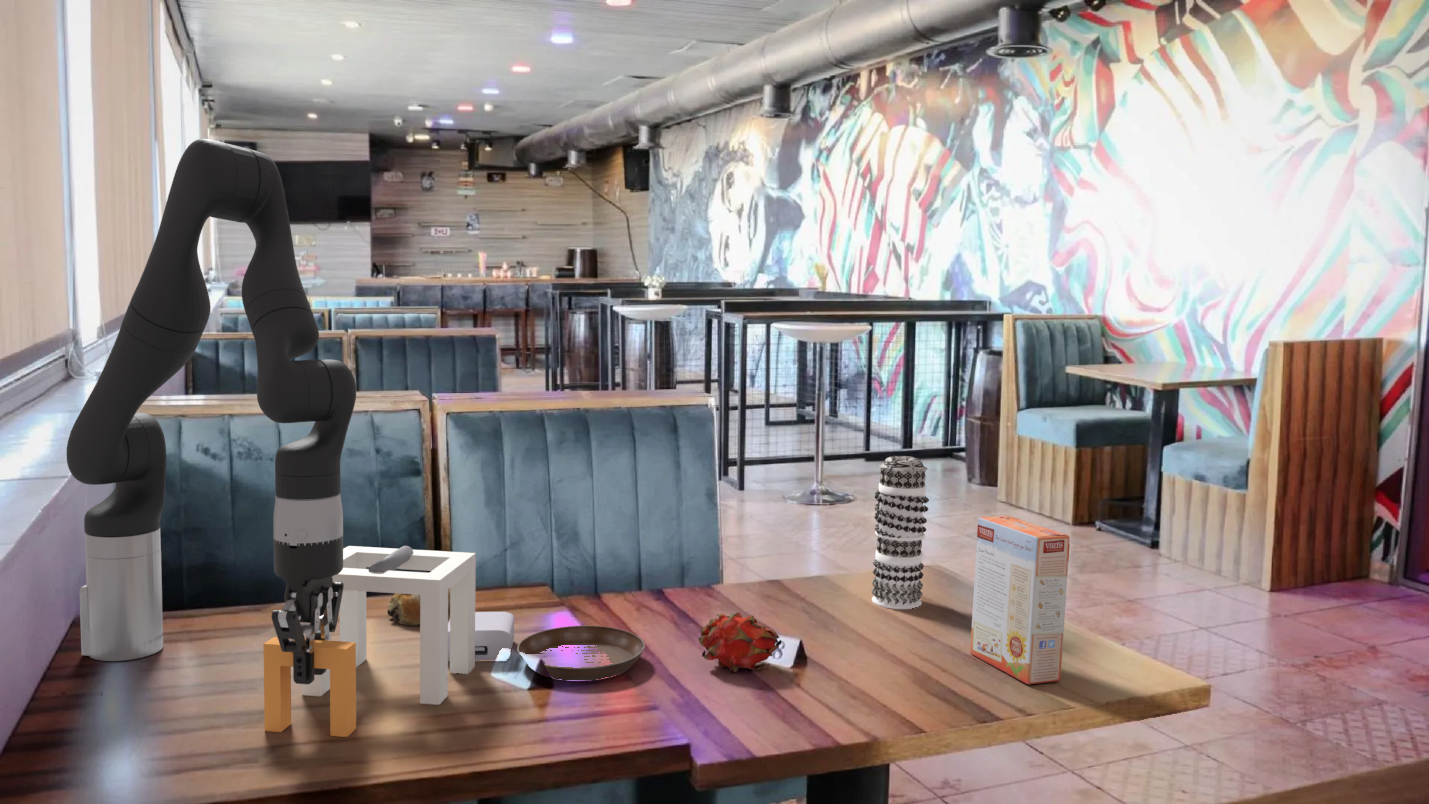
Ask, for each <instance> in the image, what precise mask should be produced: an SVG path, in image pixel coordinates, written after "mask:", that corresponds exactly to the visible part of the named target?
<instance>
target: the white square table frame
mask: <svg viewBox="0 0 1429 804" xmlns="http://www.w3.org/2000/svg"><path fill="white" fill-rule="evenodd" d="M476 559H477V558H476V552H463V551H446V550H430V549H426V550H425V549H413V548H412V547H410V546H408V545H403V546H401V547H399V548H395V547H393V548H391V547H390V548H389V547H377V546H376V547H374V546H373V547H372V546H360V545H359V546H358V545H356V546H355V545H348V546H346V547H343V569H342V571H341V572H340V573H339V574H337V575H335V576H332V578H333V582H341V583H343V585H344V588H343V593H342V599H341V604H340V609H339V615H338V619H339V641H343V642H356V668H358V667H359V666H360V665H362V664H363V663H364V662H365V661H367V592H369V593H370V592H371V593H382V594H383V593H386V594H395V593H400V594H416V595H420V625H419V651H420V653H419V679H420V680H419V704H421V705H422V704H423V705H438V706H440V705H441V704H442V703H443V702H444V701H445V700H446V698H447V697H448V696H449V695H448V683H449V681H448V680H449V679H448V676H449V674H448V673H450V672H452V673H451V674H456V673H460V674H461V673H462V674H461V675H469V674H470V672H472V670H473V669H474V668H475V667H476V662H475V612H476V570H477V569H476V568H477V567H476V566H477V565H476V563H477V562H476V561H477V560H476ZM402 570H403V571H402ZM405 570H408V571H405ZM410 570H411V571H410ZM423 571H424V572H423ZM426 571H428V572H426ZM429 571H430V572H429ZM449 588H450V662H448V589H449ZM300 624H302V623H301V622H300ZM303 634H304V637H305V633H303ZM329 634H330V637H329V640H328V641H332V632H330V633H329ZM305 639H306V638H305ZM448 666H449V667H448ZM474 666H475V667H474ZM473 667H474V668H473ZM472 668H473V669H472ZM453 672H454V673H453ZM468 673H469V674H468ZM460 674H459V675H460ZM328 691H330V669H326V672H325V673H323V674H322V675H314V681H313V682H312V683H310V684H301V696H307V697H308V696H310V697H322V696H323V695H324V694H326V693H327V692H328Z"/></svg>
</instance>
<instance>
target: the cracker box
mask: <svg viewBox="0 0 1429 804" xmlns="http://www.w3.org/2000/svg"><path fill="white" fill-rule="evenodd" d="M976 534H977V535H976V550H975V563H974V564H975V565H974V566H975V567H974V568H975V569H974V582H973V600H972V613H971V614H972V617H971V618H972V619H971V633H970V649H969V650H970V651H969V653H970V654H971V655H972V656H974V657H976V658H978V659H980V660H981V661H983V662H985V663H987V664H989V665H991V666H993V667H995V668H996V669H998V670H1000V671H1002V672H1004V673H1005V674H1008V675H1009V676H1011V677H1013V678H1015V679H1017V680H1019V681H1021V683H1024V684H1026V685H1034V684H1036V685H1037V684H1045V683H1054V682H1060V681H1061V676H1062V674H1061V673H1062V662H1063V647H1064V646H1063V645H1064V630H1065V629H1064V628H1065V620H1066V619H1065V617H1066V616H1065V615H1066V601H1067V588H1068V587H1067V586H1068V574H1069V573H1068V572H1069V557H1070V543H1071V536H1070V535H1069V534H1065V533H1063V532H1060V531H1056V530H1054V529H1050V528H1047V527H1044V526H1041V525H1037V524H1034V523H1032V522H1029V521H1026V520H1023V519H1020V518H1016V517H1013V516H1010V515H997V516H996V515H994V516H993V515H992V516H981V517H978V519H977V532H976Z"/></svg>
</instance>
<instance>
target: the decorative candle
mask: <svg viewBox="0 0 1429 804" xmlns="http://www.w3.org/2000/svg"><path fill="white" fill-rule="evenodd" d="M878 467H879V468H880V477H879V479H880V480H879V483H878V489H877V491H876V492H875V493H874V499H876V501H877V503H875V505H874V511H875V514H874V516H873V518H874V520H875V522H877V523H876V524H875V525H874V534H875V536H876V537H877V542H876V549H875V557H874V558H875V559H874V560H873V562H872V565H873V566H874V569H873V571H872V574H873V575H874V576H875V577H874V578H873V579H872V580H871V584H872V586H873V588H872V589H871V593H872V595H873V596H872V597H871V601H872V603H873V604H874V605H877V606H879V607H882V608H886V609H894V610H911V609H912V608H914V609H916V608H915V607H917V608H920V607H921V605H922V603H923V602H922V600H921V599H922V596H923V592H922V590H923V587H924V583H922V581H921V579H923V578H924V573H923V572H922V570H923V569H924V568H925V564H923V551H922V548H923V542H922V540H924V538H926V534H925V532H926V531H927V528H926V527H925V526H924V524H926V523H927V522H928V521H927V518H925V517H924V514H925V513H926V512H928V511H929V507H928V506H927V505H926V504H927V503H928V502H929V501H930V499H929V498H928V497H927V496H926V494H927V493H926V492H927V485H926V470H928V467H926V466H925V465H924V464H923V461H922V460H921V459H920V458H917V457H916V456H915V457H914V456H910V455H909V456H907V455H892V456H889V457H887V458H885V460H884V462H883V463H882V464H878ZM919 606H920V607H919Z"/></svg>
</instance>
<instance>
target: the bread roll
mask: <svg viewBox="0 0 1429 804" xmlns="http://www.w3.org/2000/svg"><path fill="white" fill-rule="evenodd" d="M387 615H388V616H390V617H391V618H392V620H393V621H394V622H395V623H398V622H399V623H398V624H400V623H401V625H405V624H408V625H407V626H411V625H419V626H420V595H416V594H400V593H393V595H392V596H391V599H390V601H389V604H388V606H387ZM449 620H450V588H449V589H448V621H449Z"/></svg>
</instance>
